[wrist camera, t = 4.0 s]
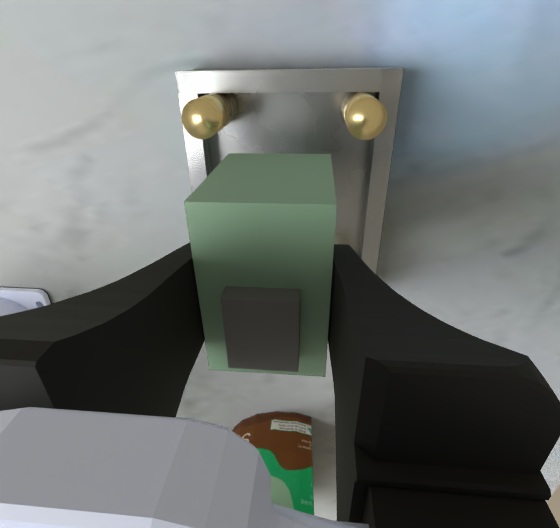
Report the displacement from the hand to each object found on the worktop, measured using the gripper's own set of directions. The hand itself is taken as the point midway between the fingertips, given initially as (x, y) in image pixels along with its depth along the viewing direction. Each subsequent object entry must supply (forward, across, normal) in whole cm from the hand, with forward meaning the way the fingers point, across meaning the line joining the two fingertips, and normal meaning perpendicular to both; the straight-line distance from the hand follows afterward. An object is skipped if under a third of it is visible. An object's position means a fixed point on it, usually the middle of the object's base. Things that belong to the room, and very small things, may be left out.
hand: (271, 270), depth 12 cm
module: (+3, 0, 0) cm, 3 cm away
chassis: (+8, 0, 0) cm, 8 cm away
